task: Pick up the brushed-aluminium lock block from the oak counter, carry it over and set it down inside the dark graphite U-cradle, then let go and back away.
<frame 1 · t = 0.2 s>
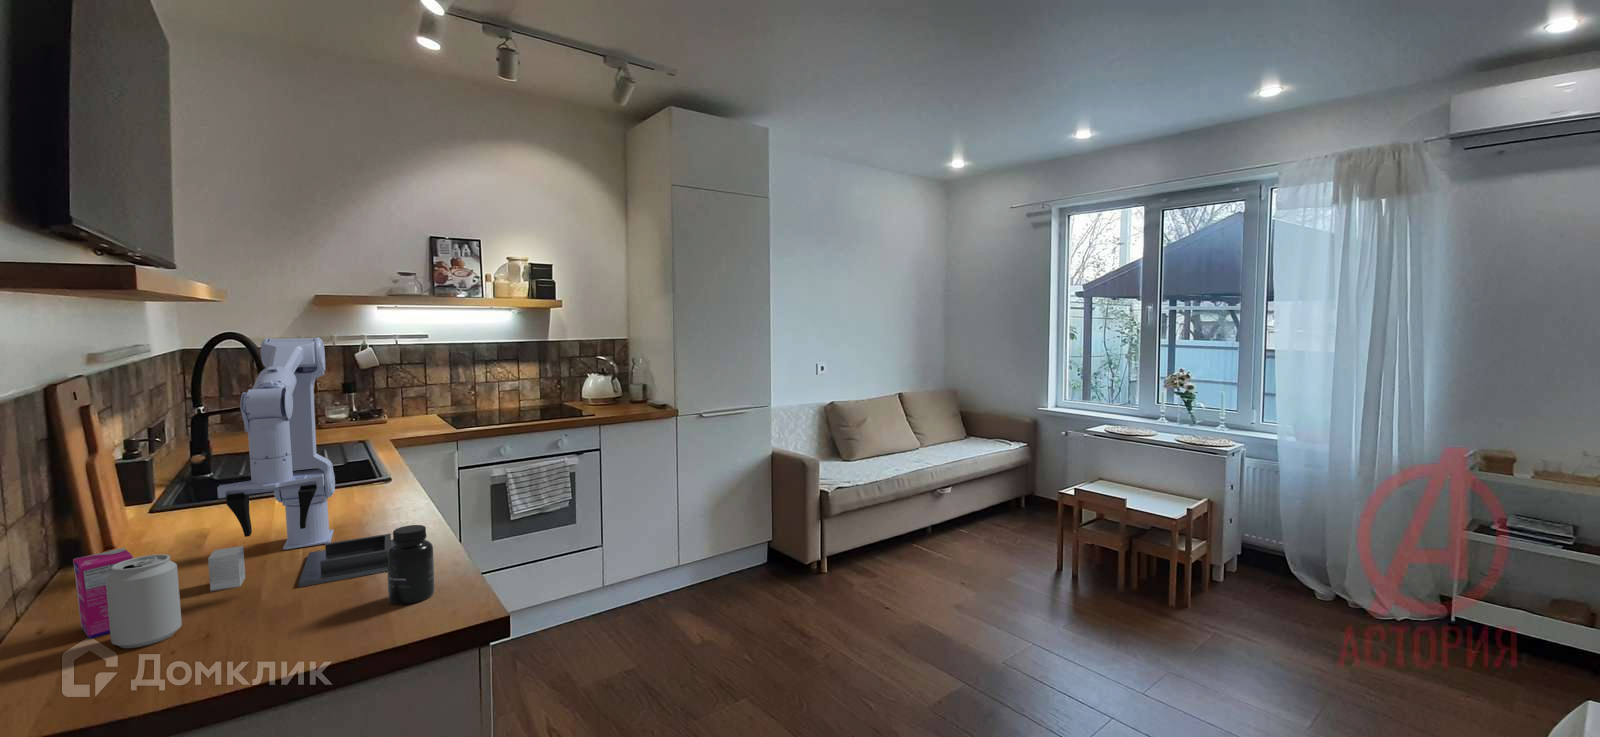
hand: (276, 531, 115), 10 cm above the worktop, fingers open, 7 cm apart
supplement bottle: (412, 598, 111), on the worktop
can: (147, 639, 97), on the worktop
cradle: (355, 562, 127), on the worktop
supplement box: (110, 628, 101), on the worktop
lock block: (228, 584, 117), on the worktop
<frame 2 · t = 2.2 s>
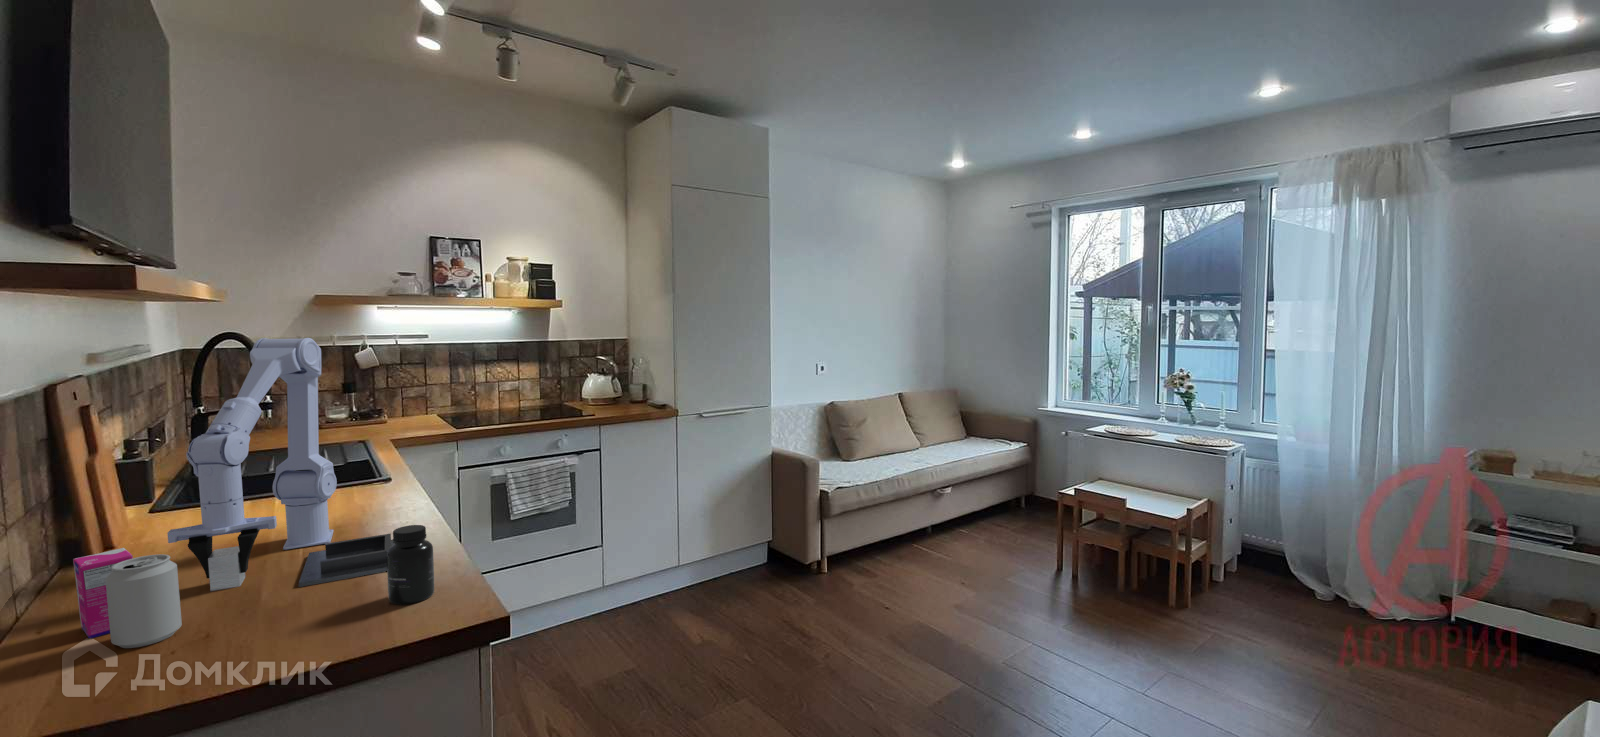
hand: (227, 573, 117), 2 cm above the worktop, fingers closed on lock block, 4 cm apart
lock block: (228, 584, 117), on the worktop, touching gripper
everything else where it was.
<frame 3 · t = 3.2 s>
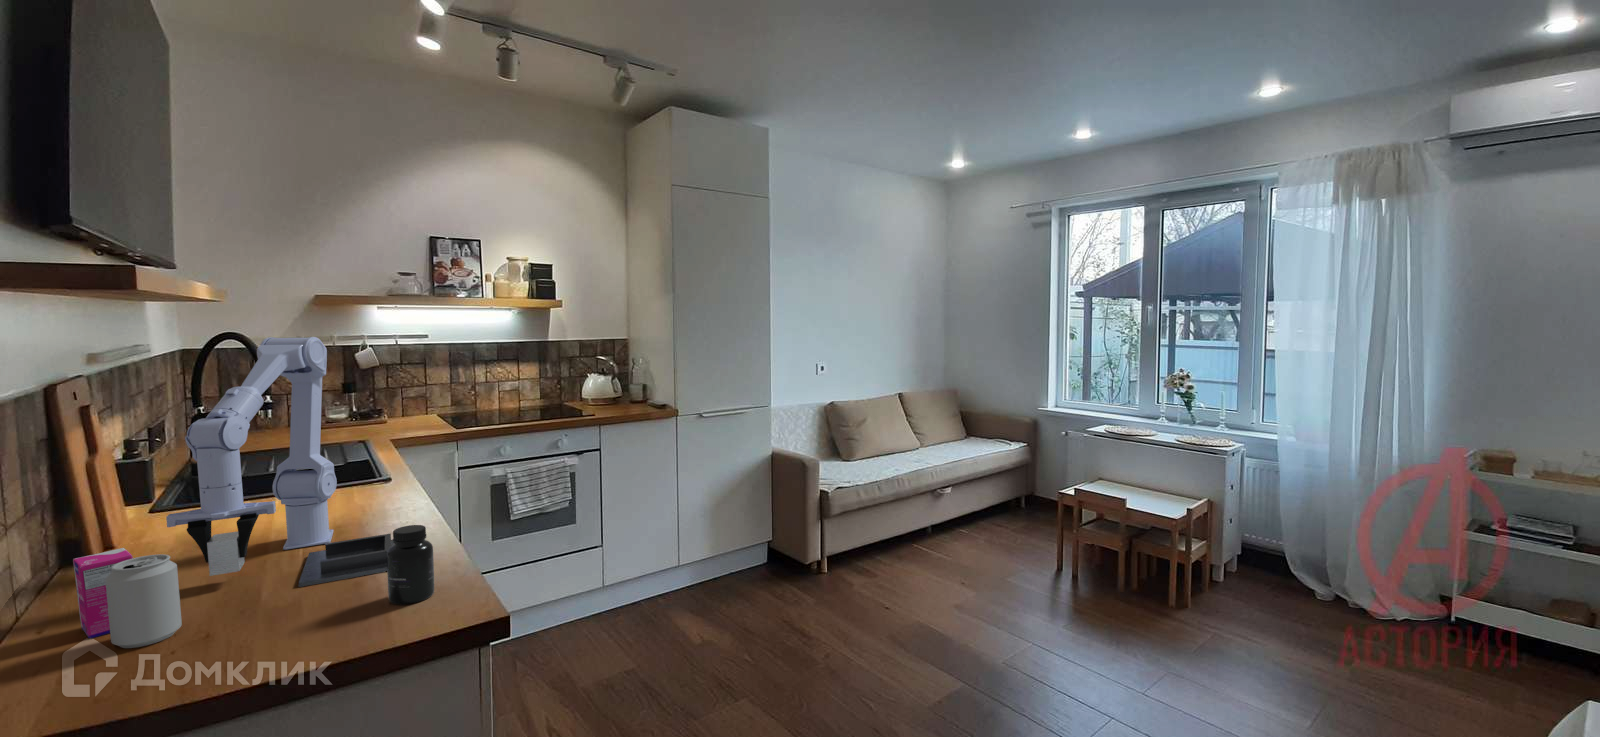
hand: (226, 558, 117), 5 cm above the worktop, fingers closed on lock block, 4 cm apart
lock block: (227, 568, 117), point 3 cm above the worktop, touching gripper
everything else where it was.
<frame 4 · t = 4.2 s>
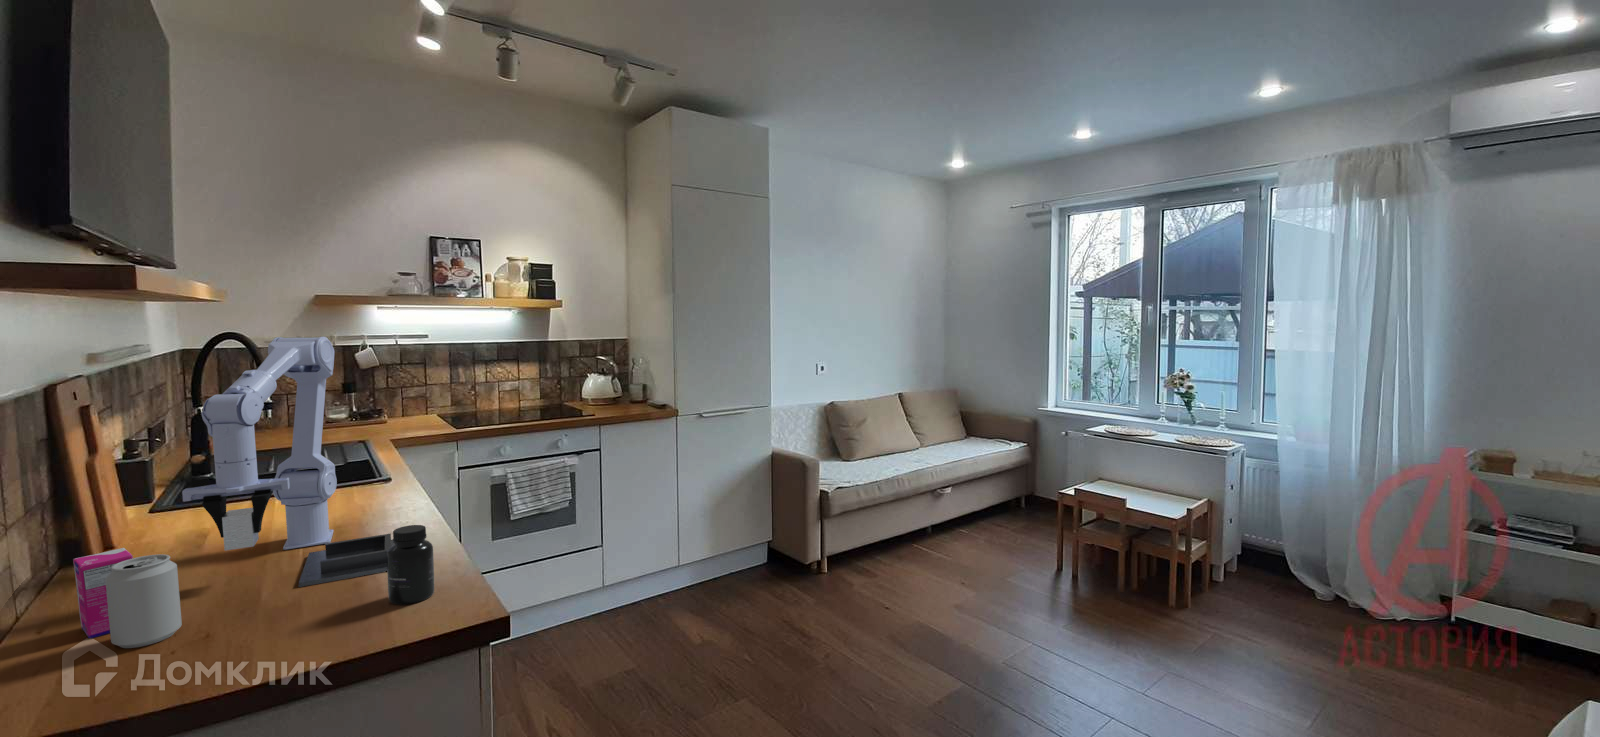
hand: (241, 533, 118), 9 cm above the worktop, fingers closed on lock block, 4 cm apart
lock block: (242, 544, 118), point 7 cm above the worktop, touching gripper
everything else where it was.
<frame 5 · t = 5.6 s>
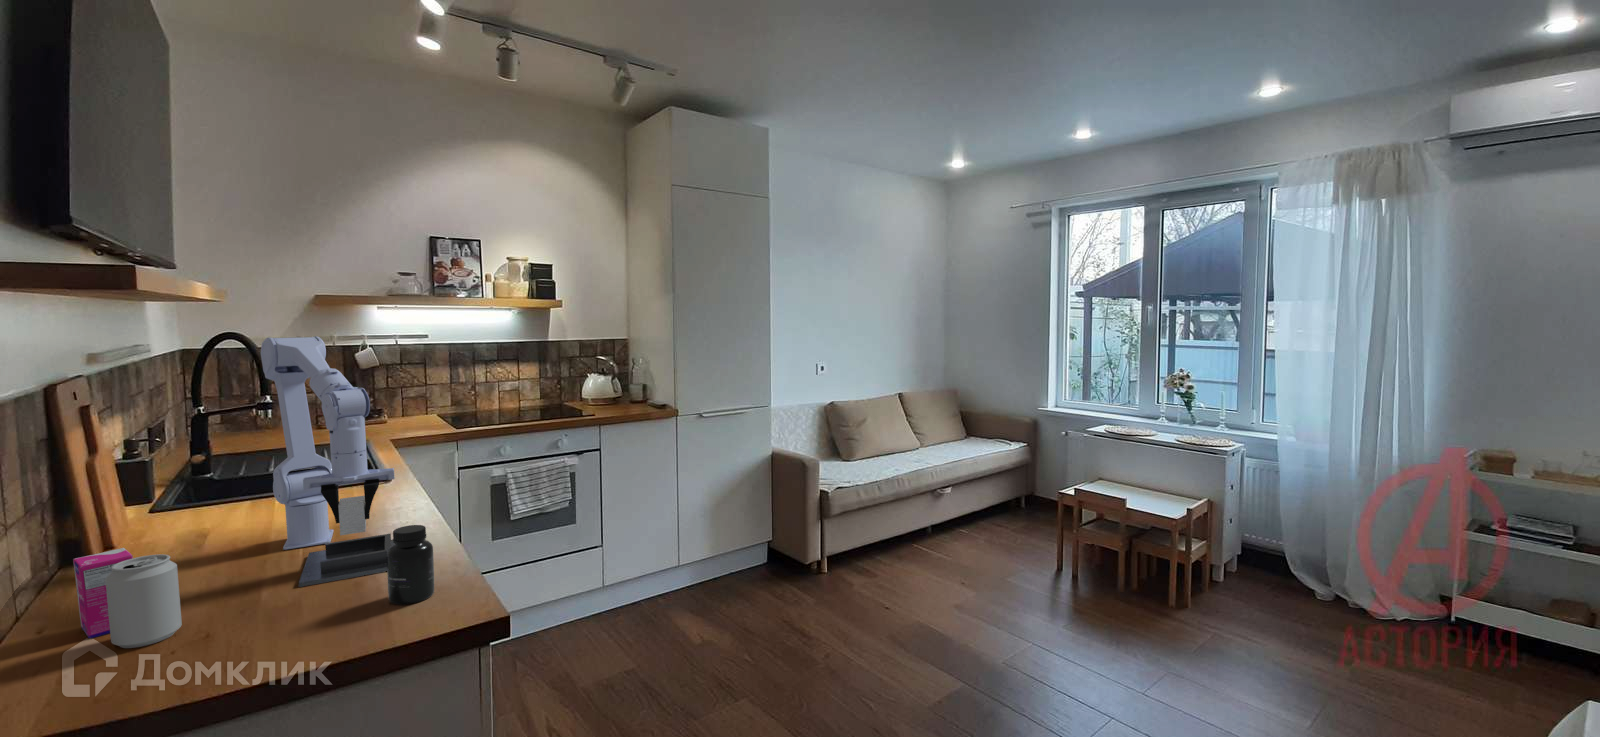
hand: (352, 519, 127), 9 cm above the worktop, fingers closed on lock block, 4 cm apart
lock block: (353, 530, 127), point 7 cm above the worktop, touching gripper
everything else where it was.
when the fingers open (4 cm above the worktop, at t = 6.7 s): lock block drops 1 cm, resting on cradle.
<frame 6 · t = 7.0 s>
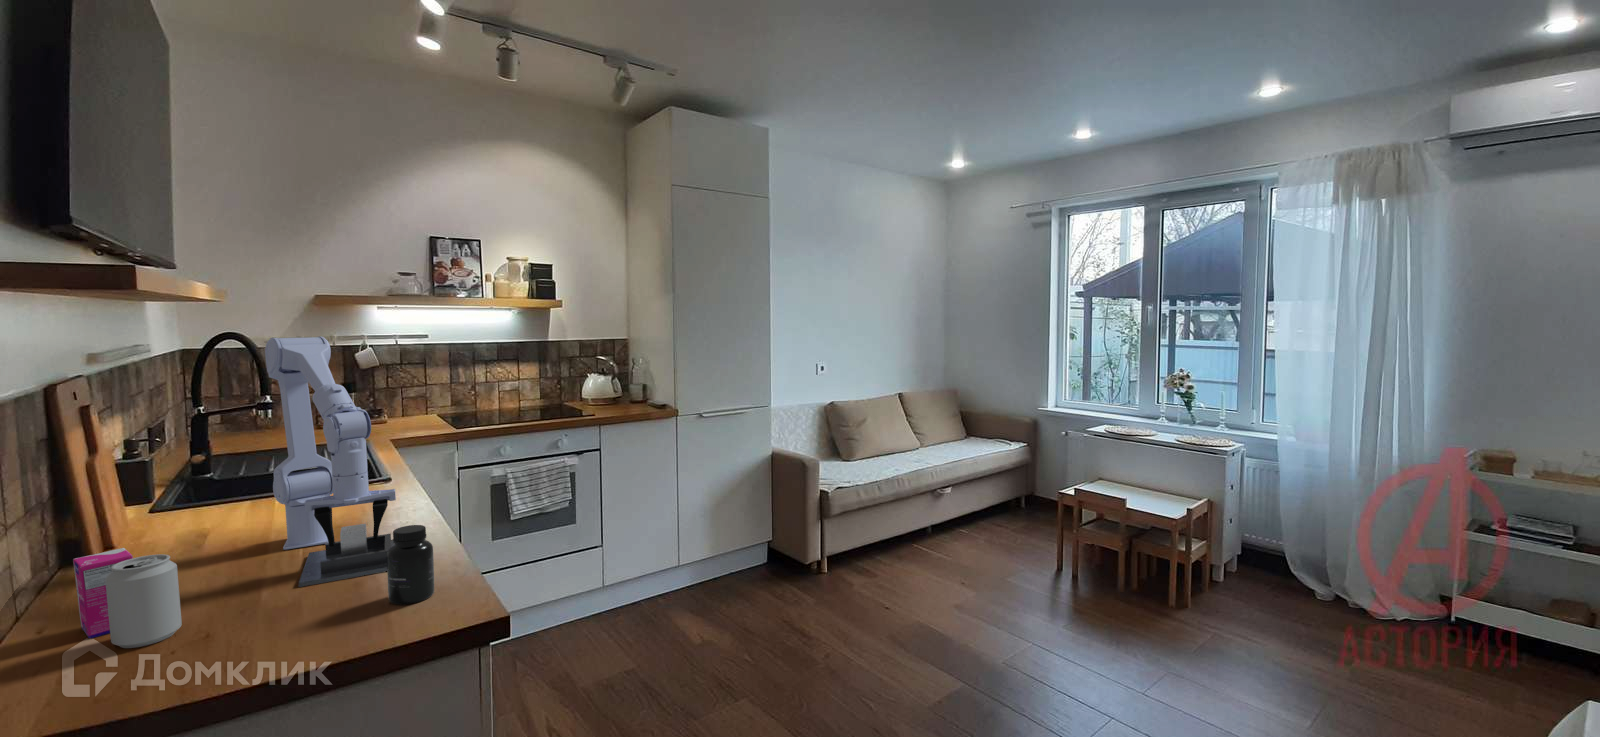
hand: (354, 541, 127), 4 cm above the worktop, fingers open, 6 cm apart
lock block: (355, 558, 127), point 1 cm above the worktop, touching cradle
everything else where it was.
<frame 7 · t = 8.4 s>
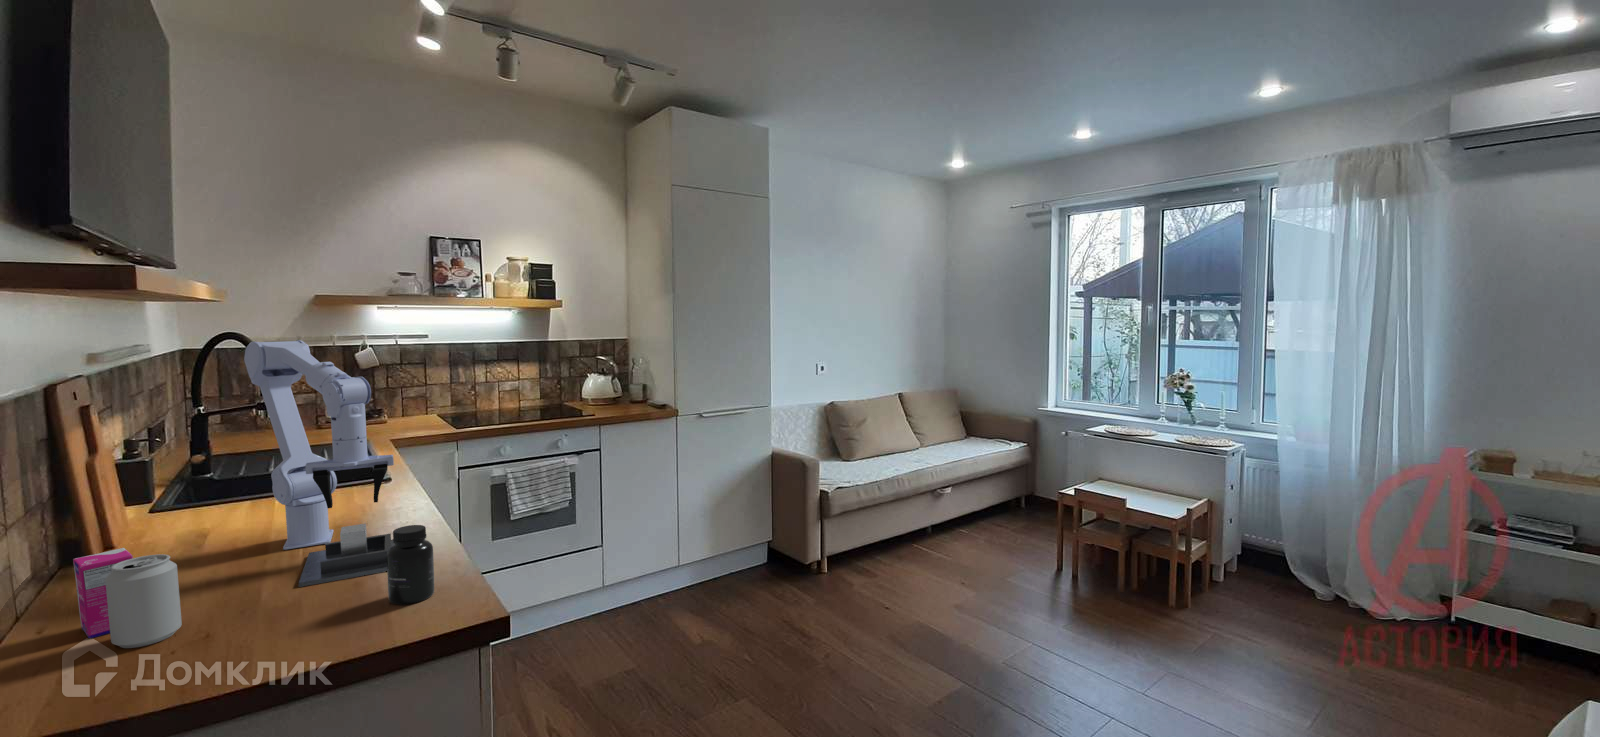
hand: (353, 504, 131), 10 cm above the worktop, fingers open, 7 cm apart
nothing on the worktop moved.
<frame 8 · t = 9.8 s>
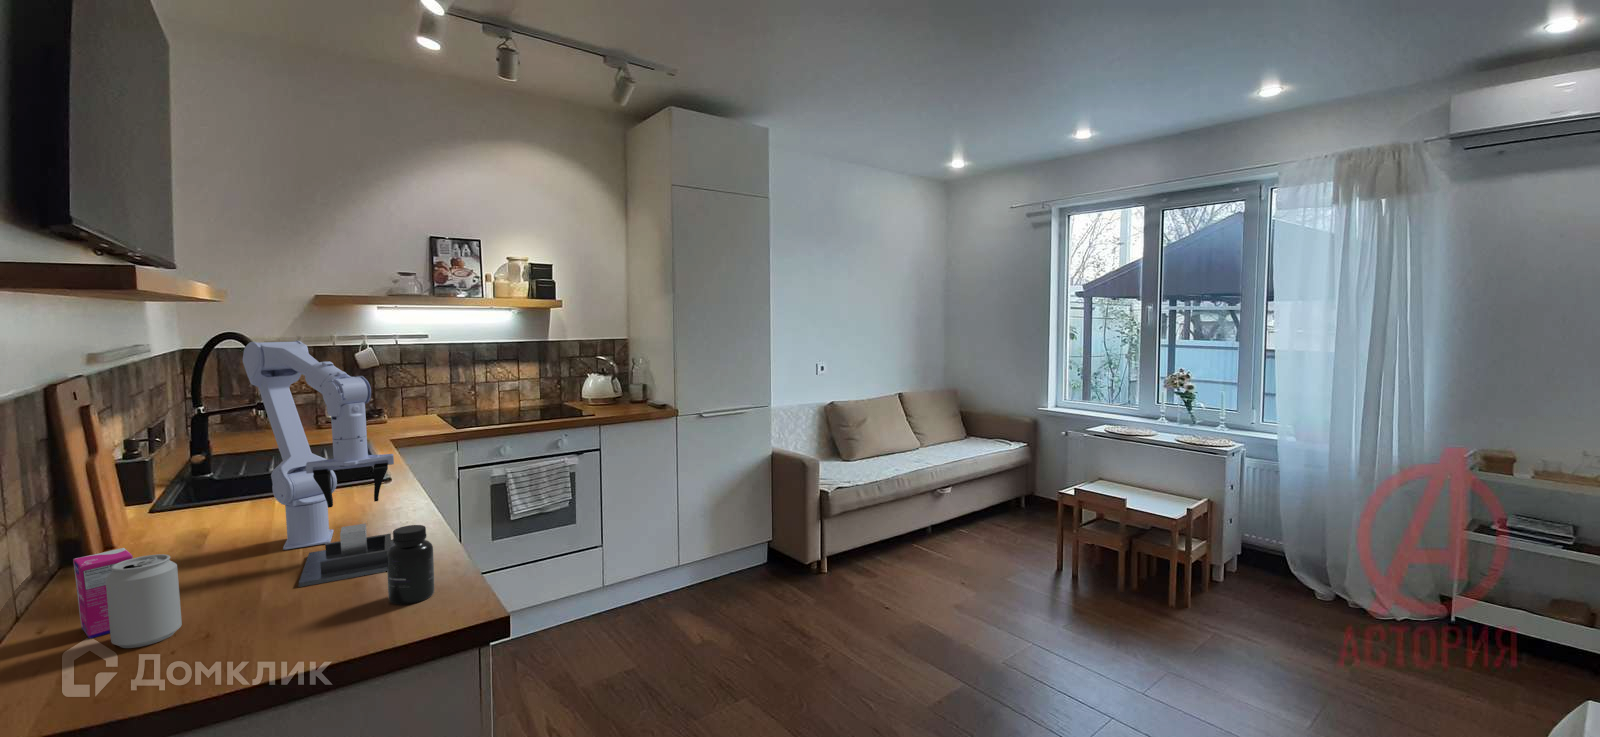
hand: (353, 503, 132), 10 cm above the worktop, fingers open, 7 cm apart
nothing on the worktop moved.
at the end: lock block 0.1 cm off-centre on the cradle, point 0.8 cm above the cradle's base; lock block tilted 0°; the gripper is holding nothing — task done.
